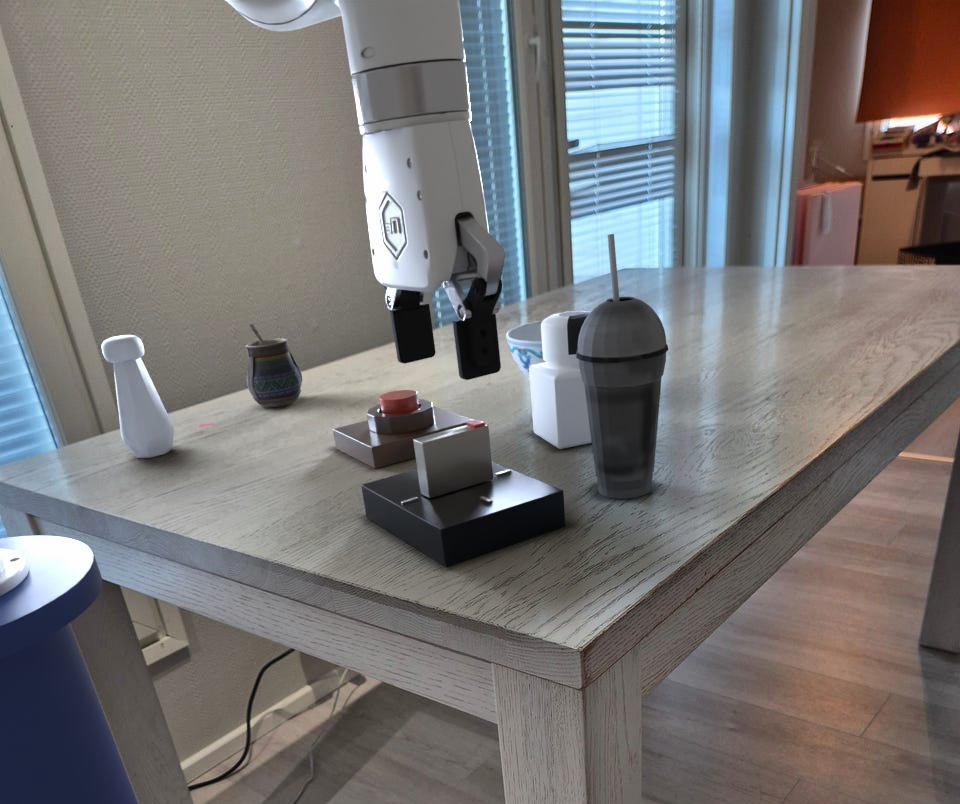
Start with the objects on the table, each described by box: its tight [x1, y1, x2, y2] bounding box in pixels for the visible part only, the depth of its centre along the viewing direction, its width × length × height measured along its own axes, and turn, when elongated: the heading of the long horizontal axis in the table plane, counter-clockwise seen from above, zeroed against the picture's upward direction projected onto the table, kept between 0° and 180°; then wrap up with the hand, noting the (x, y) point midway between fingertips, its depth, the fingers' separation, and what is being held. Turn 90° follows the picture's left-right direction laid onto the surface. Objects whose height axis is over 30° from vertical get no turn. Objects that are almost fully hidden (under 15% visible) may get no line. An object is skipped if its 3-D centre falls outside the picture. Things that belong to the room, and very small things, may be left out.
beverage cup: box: [576, 233, 669, 500], centre depth 69 cm, size 7×7×20 cm
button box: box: [332, 398, 475, 469], centre depth 92 cm, size 12×10×4 cm
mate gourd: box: [245, 323, 303, 409], centre depth 114 cm, size 7×8×10 cm
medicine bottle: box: [529, 310, 592, 450], centre depth 86 cm, size 7×7×12 cm
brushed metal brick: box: [413, 419, 493, 498], centre depth 69 cm, size 6×2×5 cm, turn 122°
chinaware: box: [505, 319, 546, 381], centre depth 102 cm, size 15×15×8 cm
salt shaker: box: [101, 334, 175, 459], centre depth 97 cm, size 6×6×13 cm
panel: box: [360, 461, 566, 568], centre depth 71 cm, size 11×14×3 cm
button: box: [378, 389, 419, 414], centre depth 91 cm, size 4×4×2 cm
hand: (447, 367), depth 65 cm, fingers open, 9 cm apart
